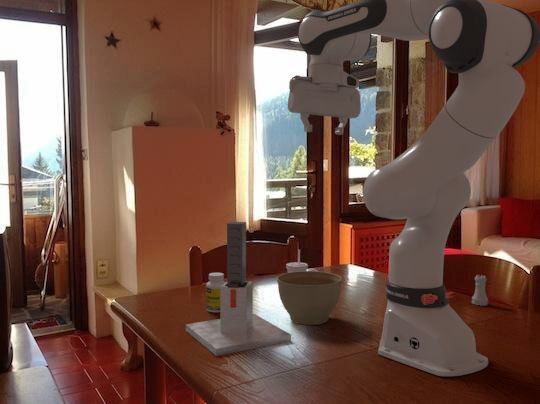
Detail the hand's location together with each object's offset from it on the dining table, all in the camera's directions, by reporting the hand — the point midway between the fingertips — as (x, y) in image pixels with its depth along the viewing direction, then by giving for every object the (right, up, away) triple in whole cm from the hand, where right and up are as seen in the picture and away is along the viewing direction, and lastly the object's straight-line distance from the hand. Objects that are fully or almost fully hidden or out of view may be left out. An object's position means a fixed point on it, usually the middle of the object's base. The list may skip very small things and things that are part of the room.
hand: (323, 133), depth 133 cm
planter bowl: (-4, -48, -3) cm, 48 cm away
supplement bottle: (-28, -47, +5) cm, 55 cm away
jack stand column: (-22, -46, -16) cm, 54 cm away
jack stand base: (-21, -48, -15) cm, 55 cm away
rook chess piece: (+45, -47, +11) cm, 66 cm away
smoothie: (-6, -46, +18) cm, 50 cm away
